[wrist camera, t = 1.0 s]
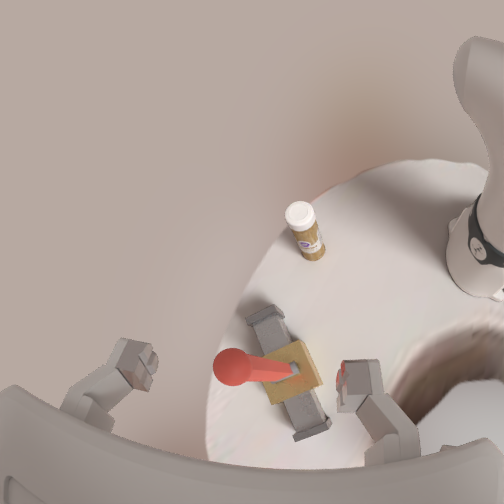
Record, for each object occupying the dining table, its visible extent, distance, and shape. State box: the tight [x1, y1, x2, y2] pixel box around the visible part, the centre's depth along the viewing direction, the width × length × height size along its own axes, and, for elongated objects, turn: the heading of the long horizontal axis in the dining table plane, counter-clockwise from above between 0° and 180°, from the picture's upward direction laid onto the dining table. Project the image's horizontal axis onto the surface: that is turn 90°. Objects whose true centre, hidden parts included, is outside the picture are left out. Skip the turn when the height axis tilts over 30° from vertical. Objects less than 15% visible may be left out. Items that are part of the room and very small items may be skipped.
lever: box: [213, 348, 300, 386], centre depth 31 cm, size 4×4×21 cm
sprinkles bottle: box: [285, 201, 325, 261], centre depth 47 cm, size 5×5×14 cm
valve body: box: [245, 304, 332, 442], centre depth 41 cm, size 8×22×5 cm, turn 22°
